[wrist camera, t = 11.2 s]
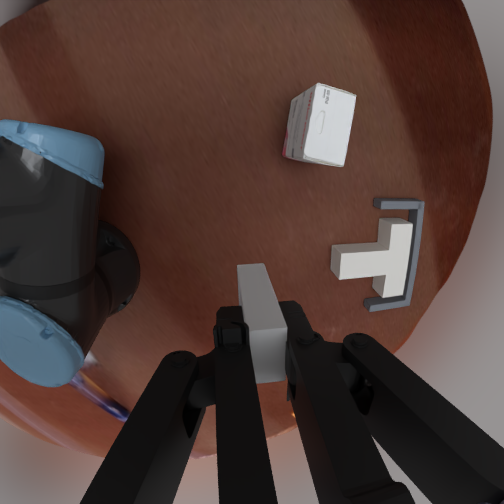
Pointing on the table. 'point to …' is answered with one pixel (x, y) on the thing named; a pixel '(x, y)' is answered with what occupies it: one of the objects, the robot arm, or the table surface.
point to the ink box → (319, 126)
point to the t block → (377, 258)
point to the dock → (416, 219)
